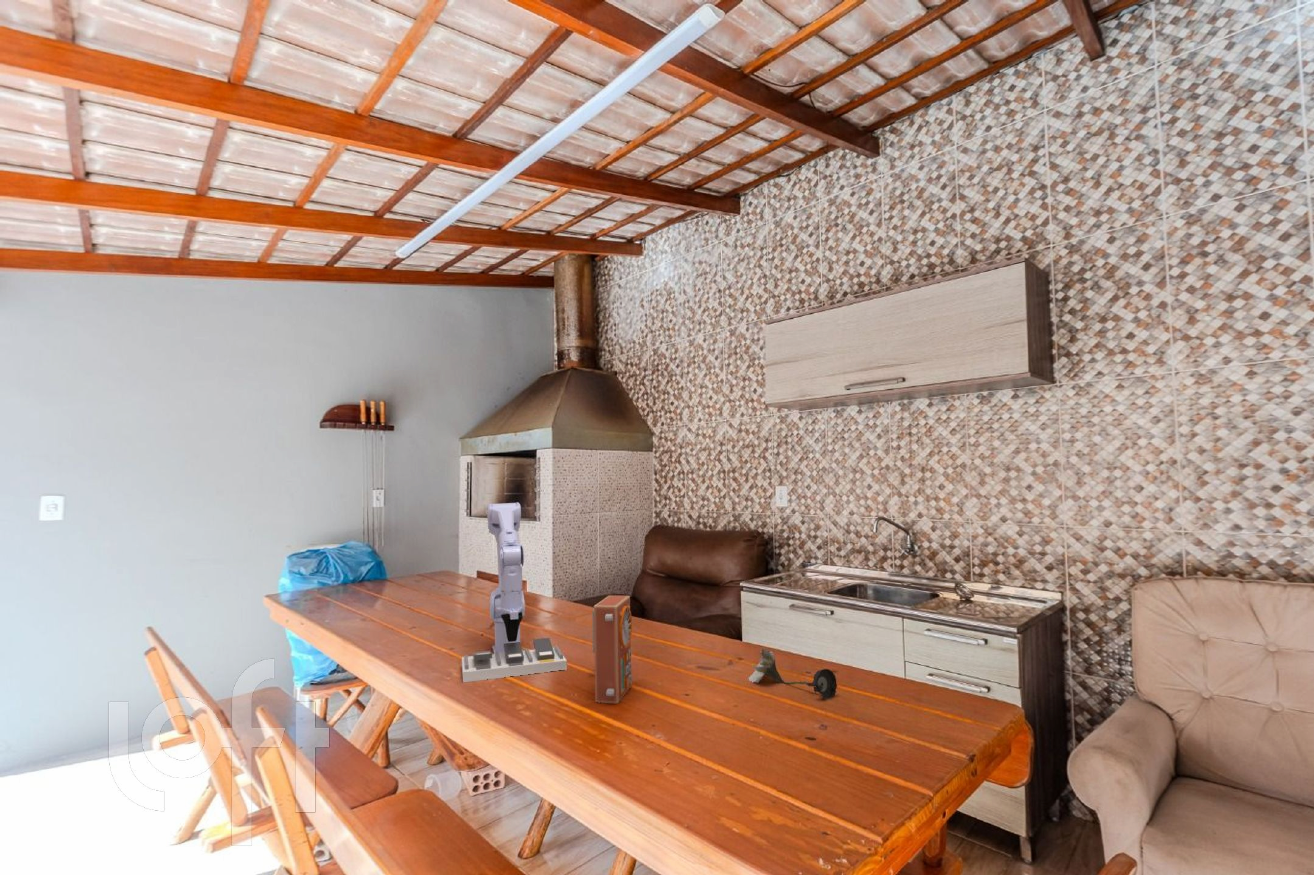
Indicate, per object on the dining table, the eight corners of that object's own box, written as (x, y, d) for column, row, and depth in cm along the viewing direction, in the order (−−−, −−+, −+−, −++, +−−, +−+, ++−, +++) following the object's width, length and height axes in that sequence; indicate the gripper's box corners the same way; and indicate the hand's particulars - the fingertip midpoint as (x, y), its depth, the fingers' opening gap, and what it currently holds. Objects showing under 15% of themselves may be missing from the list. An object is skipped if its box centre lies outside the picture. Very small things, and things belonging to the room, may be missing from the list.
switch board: (461, 666, 172) (461, 653, 172) (558, 656, 180) (558, 643, 180) (463, 682, 159) (463, 668, 159) (566, 670, 167) (566, 656, 167)
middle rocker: (503, 647, 173) (503, 643, 173) (520, 646, 175) (520, 641, 174) (506, 662, 165) (506, 657, 165) (523, 660, 166) (523, 655, 166)
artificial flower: (817, 711, 138) (803, 667, 138) (747, 695, 157) (734, 657, 156) (842, 691, 144) (828, 649, 144) (771, 678, 162) (758, 641, 162)
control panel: (635, 683, 155) (619, 706, 140) (608, 682, 156) (589, 704, 141) (634, 594, 156) (618, 607, 141) (606, 594, 157) (587, 606, 143)
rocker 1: (473, 657, 170) (472, 651, 171) (490, 655, 172) (489, 650, 172) (474, 660, 162) (474, 654, 162) (492, 658, 163) (492, 652, 164)
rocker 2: (533, 643, 176) (533, 638, 175) (549, 641, 177) (549, 637, 177) (537, 660, 167) (537, 655, 167) (554, 658, 169) (554, 654, 168)
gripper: (494, 587, 180) (495, 636, 179) (498, 596, 166) (498, 649, 165) (520, 585, 182) (520, 633, 181) (526, 593, 168) (526, 646, 167)
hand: (512, 640), depth 173 cm, fingers closed
